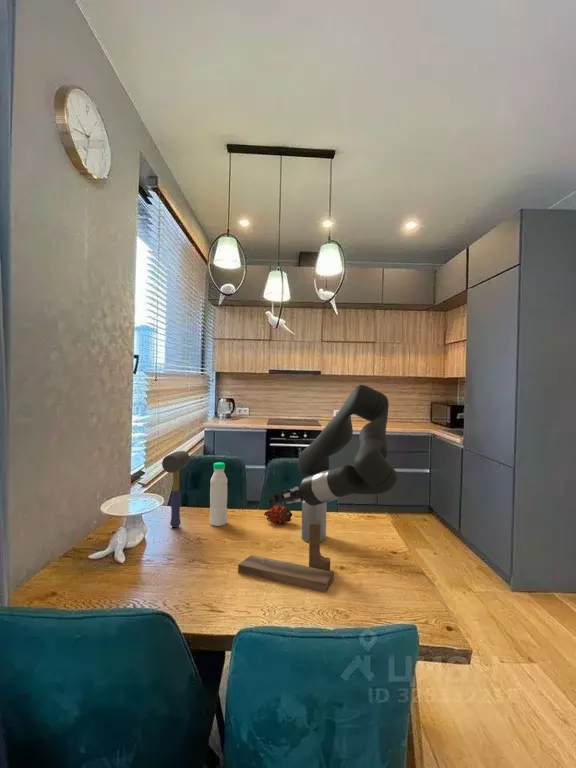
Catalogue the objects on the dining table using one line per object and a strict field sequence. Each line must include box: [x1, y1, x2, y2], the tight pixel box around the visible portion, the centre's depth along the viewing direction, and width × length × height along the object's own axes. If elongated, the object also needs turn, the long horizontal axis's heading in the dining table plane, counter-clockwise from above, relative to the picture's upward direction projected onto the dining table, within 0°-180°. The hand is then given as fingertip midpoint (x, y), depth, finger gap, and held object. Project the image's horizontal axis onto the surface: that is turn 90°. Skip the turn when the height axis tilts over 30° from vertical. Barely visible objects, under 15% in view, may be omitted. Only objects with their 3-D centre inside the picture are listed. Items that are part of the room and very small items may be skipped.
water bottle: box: [209, 461, 228, 527], centre depth 170 cm, size 7×7×25 cm
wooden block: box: [308, 521, 331, 571], centre depth 128 cm, size 7×3×15 cm, turn 86°
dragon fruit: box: [263, 504, 293, 526], centre depth 172 cm, size 8×8×12 cm
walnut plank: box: [237, 554, 335, 593], centre depth 124 cm, size 8×28×3 cm, turn 66°
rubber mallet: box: [161, 450, 191, 528], centre depth 165 cm, size 12×8×30 cm, turn 170°
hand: (279, 500), depth 116 cm, fingers open, 8 cm apart
